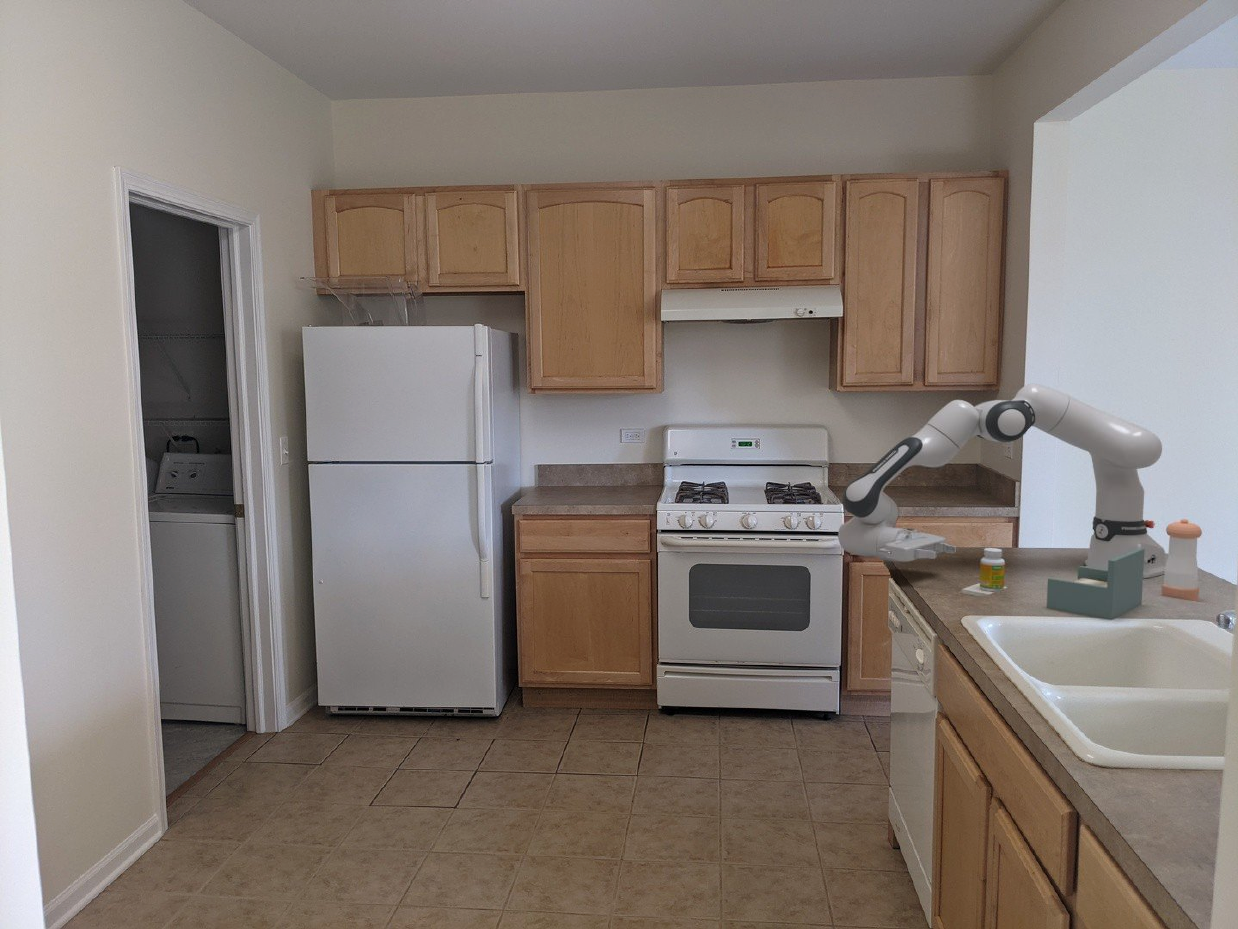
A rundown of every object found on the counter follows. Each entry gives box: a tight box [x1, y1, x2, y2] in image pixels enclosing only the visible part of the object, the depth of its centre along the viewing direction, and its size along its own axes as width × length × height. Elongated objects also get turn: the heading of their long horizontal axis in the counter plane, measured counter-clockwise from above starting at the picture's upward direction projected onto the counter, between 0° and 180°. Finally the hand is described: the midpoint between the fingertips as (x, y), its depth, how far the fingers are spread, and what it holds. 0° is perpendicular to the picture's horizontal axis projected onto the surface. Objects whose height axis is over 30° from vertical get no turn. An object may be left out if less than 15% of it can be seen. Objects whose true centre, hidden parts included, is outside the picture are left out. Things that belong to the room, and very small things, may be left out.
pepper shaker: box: [1161, 518, 1203, 603], centre depth 205 cm, size 7×7×19 cm
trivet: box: [961, 582, 1008, 598], centre depth 213 cm, size 10×10×1 cm
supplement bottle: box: [979, 547, 1006, 593], centre depth 213 cm, size 5×5×10 cm
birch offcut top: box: [1073, 578, 1107, 587], centre depth 196 cm, size 9×11×2 cm
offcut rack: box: [1046, 548, 1145, 621], centre depth 196 cm, size 13×18×14 cm
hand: (945, 552), depth 221 cm, fingers open, 8 cm apart
